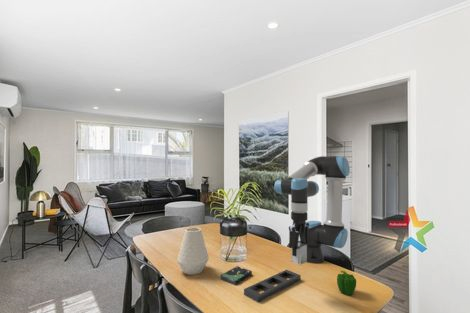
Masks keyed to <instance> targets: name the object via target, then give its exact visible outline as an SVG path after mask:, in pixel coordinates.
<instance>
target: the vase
mask: <svg viewBox="0 0 470 313" xmlns="http://www.w3.org/2000/svg"><path fill="white" fill-rule="evenodd" d="M184 230H185V231H184V233H183V237H182V240H181V244H180V248H179V252H178V255H177V260H176V261H177V264H178V265H179V267H180V269H181V270H182V272H183V274H185V275H189V276H190V275H191V276H192V275H193V276H194V275H198V274H201V273H203V271H204V269H205V267H206V265H207V264H208V261H209V253H208V250H207V247H206V243H205V239H204V235H203V232H202V228H200V227H188V228H186V229H184Z"/></svg>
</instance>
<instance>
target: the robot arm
mask: <svg viewBox="0 0 470 313" xmlns="http://www.w3.org/2000/svg"><path fill="white" fill-rule="evenodd" d="M321 175H322V176H325V179H326V180H327V190H326V191H327V195H326V219H325V221H324V222H323V224H322V222H321V221H320V220H308V210H309V209H308V206H309V205H308V204H309V203H308V200H309V199H308V198H309V197H314V196H317V194H318V193H319V191H320V187H319V184H318V183H317V182H316V181H313V180H308V179H309V178H311V177H315V176H321ZM348 176H350V163H349V161H348V159H347V157H345V156H339V155H337V156H336V155H335V156H323V155H322V156H321V155H320V156H316V157H313V158H311V159H308V161H306V162H304V164H303V165H302V166H301V167H300V168H299V169H298V170H296V171H294V172H293V173H292V174H291V175H289V176H288V177H286V178H284V179H276V181H275V182H274V191H275V193H276V194H281V195H290V196H291V200H290V201H291V202H290V207H291V208H290V210H291V212H290V218H291V220H292V225H291V226H290V225H289V226H288V231H289V232H288V234H289V236H288V240H289V241H288V242H289V243H288V244H289V248H290V249H291V256H292V255H293V262H292V263H294V264H297V265H299V264H298V261H299V249H297V247H298V242H299V241H300V242H299V243H303V244H306V245H307V262H306V263H311V264H313V263H314V264H319V263H322V262H324V261H325V255H324V252H323V249H322V245H323V246H327V247H332V248H337V249H342V248H344V247H345V245H346V242H348V234H349V232H348V229H347V228H345V224H344V223H343V222H342V221H343V219H342V218H343V189H344V188H343V187H344V181H345V180H346V178H347V177H348Z"/></svg>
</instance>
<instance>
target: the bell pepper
mask: <svg viewBox="0 0 470 313" xmlns="http://www.w3.org/2000/svg"><path fill="white" fill-rule="evenodd" d="M336 284H337V287H338V288H337V289H338V290H339V292H340V293H342V294H345V295H347V296H352V295H353V294H355V291H356V288H357V279H356V277H355V276H354V275H353V274H350V273H347V272H346V271H345V270H340V273H338V274H337V276H336Z"/></svg>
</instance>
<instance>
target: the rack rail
mask: <svg viewBox="0 0 470 313" xmlns="http://www.w3.org/2000/svg"><path fill="white" fill-rule="evenodd" d="M286 278H288V279H286ZM300 281H301V274H299V273H296V272H293V271H291V270H289V269H285V270H283V271H280V272H279V273H276V274H273V275H272V276H270V277H268V278H265V279H263V280H260V281H258V282H256V283H253V284H252V285H250V286H248V287H245V288H243V295H244V296H246V297H248V298H249V299H251V300H253V301H255V302H256V303H260V302H262V301H263V300H266V299H268V298H270V297H272V296H273V295H275V294H277V293H279V292H281V291H283V290H285V289H286V288H288V287H290V286H292V285H294V284H295V283H298V282H300ZM272 283H273V284H276V285H273V284H272ZM258 290H261V291H262V292H258Z"/></svg>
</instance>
